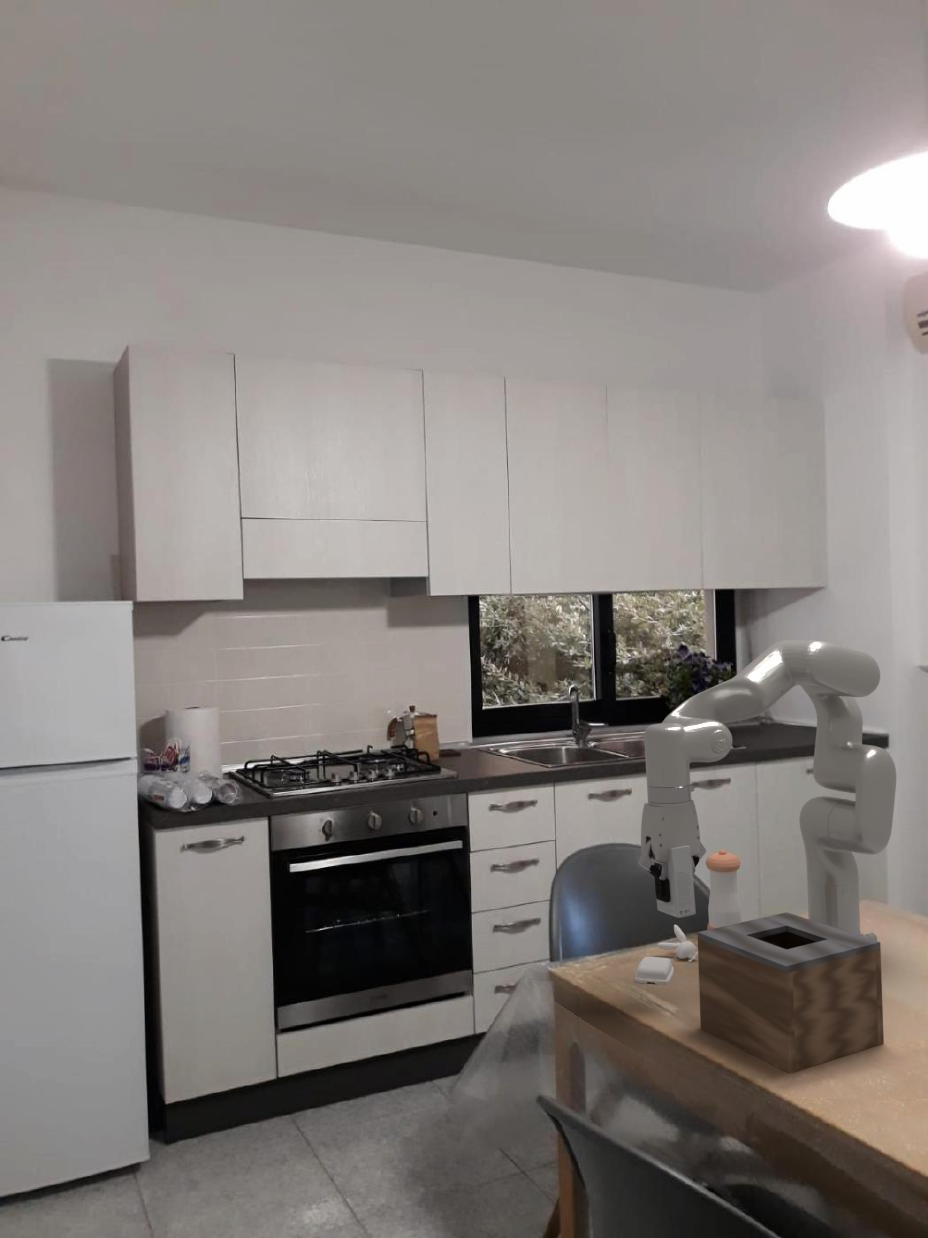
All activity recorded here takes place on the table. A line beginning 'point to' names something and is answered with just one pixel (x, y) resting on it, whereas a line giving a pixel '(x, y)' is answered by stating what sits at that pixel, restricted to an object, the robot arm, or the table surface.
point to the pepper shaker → (723, 890)
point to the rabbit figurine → (680, 946)
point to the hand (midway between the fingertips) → (674, 897)
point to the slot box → (791, 989)
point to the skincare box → (679, 884)
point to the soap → (655, 970)
